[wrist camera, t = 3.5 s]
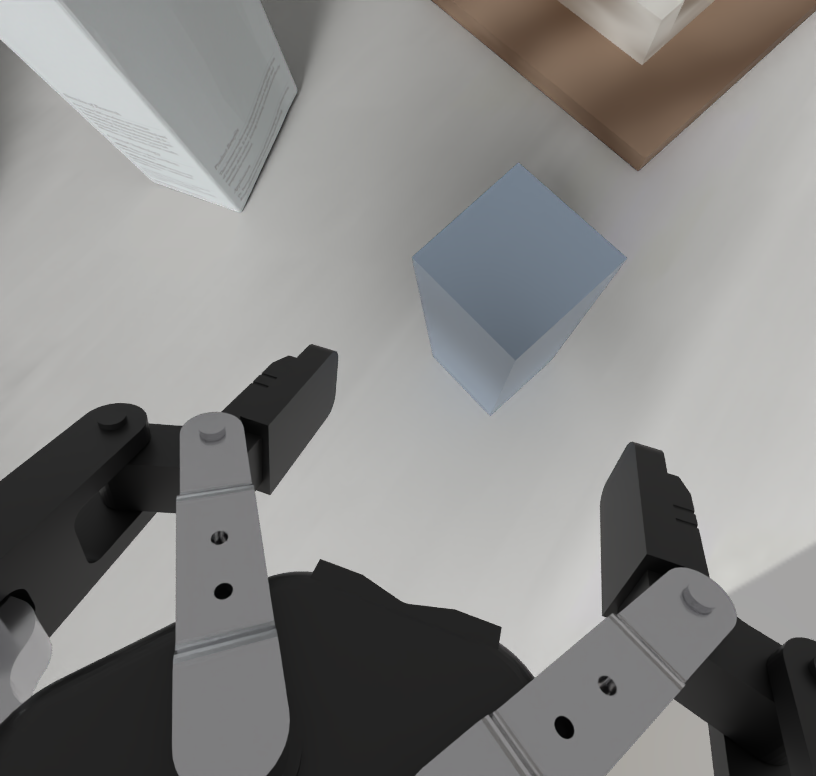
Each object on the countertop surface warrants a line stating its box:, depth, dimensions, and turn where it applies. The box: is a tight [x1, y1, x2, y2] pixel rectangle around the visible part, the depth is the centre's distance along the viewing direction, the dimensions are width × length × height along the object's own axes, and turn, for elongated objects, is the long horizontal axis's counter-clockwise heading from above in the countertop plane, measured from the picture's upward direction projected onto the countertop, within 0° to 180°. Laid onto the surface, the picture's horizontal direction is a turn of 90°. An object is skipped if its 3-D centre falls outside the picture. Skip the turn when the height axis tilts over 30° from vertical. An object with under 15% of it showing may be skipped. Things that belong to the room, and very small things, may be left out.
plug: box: [412, 162, 627, 416], centre depth 19 cm, size 4×4×11 cm
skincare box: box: [0, 0, 297, 212], centre depth 21 cm, size 8×6×15 cm
